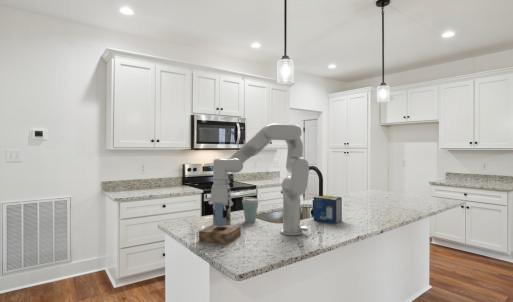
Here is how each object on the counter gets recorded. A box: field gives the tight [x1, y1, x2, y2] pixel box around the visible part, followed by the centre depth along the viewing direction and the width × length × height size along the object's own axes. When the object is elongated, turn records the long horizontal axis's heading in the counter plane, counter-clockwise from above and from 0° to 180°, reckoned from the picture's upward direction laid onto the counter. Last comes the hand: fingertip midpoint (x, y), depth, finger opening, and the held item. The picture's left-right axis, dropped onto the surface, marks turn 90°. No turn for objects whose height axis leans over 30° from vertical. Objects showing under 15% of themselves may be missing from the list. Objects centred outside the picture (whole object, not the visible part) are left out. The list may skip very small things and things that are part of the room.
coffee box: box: [212, 203, 232, 225], centre depth 180 cm, size 9×6×16 cm
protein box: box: [313, 194, 343, 225], centre depth 191 cm, size 10×15×16 cm
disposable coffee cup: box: [241, 196, 259, 223], centre depth 188 cm, size 11×11×15 cm
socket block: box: [198, 223, 242, 246], centre depth 153 cm, size 16×16×5 cm
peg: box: [215, 203, 226, 226], centre depth 153 cm, size 4×4×12 cm
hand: (220, 216), depth 153 cm, fingers closed on peg, 4 cm apart
